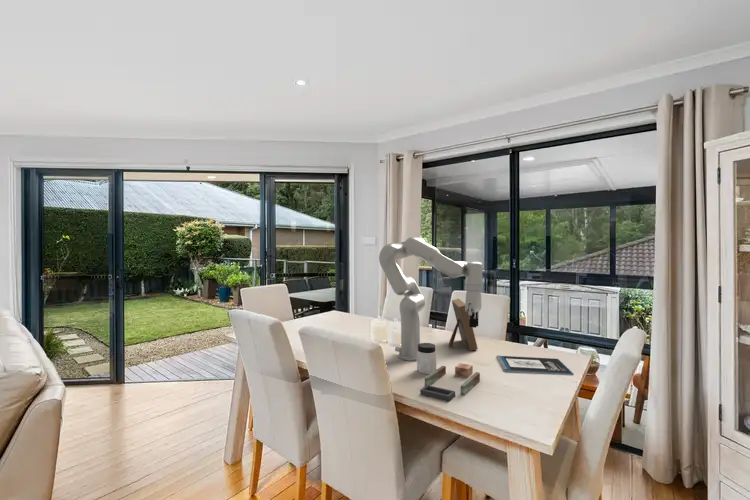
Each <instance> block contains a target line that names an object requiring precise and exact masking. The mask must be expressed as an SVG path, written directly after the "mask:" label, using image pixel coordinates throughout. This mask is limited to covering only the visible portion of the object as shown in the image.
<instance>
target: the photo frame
mask: <svg viewBox="0 0 750 500" xmlns="http://www.w3.org/2000/svg"><path fill="white" fill-rule="evenodd" d="M451 304H452V307H453V311H454V315H455V319H456V324H455V326H454V329H453V332H452V334H451V336H450V339H449V343H448V349H450V348H452V347H453V346H454V342H455V338H456V335H457V331H459V336H460V339H461V342H462V343H464V345H465V347H466V348H467V349H468V350H469V351H470V352H471V351H475V350H478V344H477V340H476V335H475V332H474V331H475V330H474V327H470V326H469V315H468V312H466V311H465V302H464V301H462V300H461V299H460V298H456V299H452V300H451Z"/></svg>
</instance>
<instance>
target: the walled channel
mask: <svg viewBox="0 0 750 500" xmlns="http://www.w3.org/2000/svg"><path fill="white" fill-rule="evenodd" d="M446 369H447V365H441V366H440V367H438V368H436V370H435V371H434V372H432V373H431V374H427V375H426V376H425V377H424V387H425V386H426V385H430V386H432V385H433V384H434V383H435V382H437V381H439V380H440V379H441V378H443V376H445V375H446V373H447V371H446ZM480 379H481V373H480V372H478V371H476V372H474V373H473V374H472V375H471V376H470V377H468V378H467V379H466V380H465V381H464V382H463V383H462V384H461V385H460V395H462V396H465V395H466V394H468V393H469V392H470V391H471V390H472V389H473V388H474V387H475V386H476V385H477V384H478V383H479V382H480V381H481V380H480Z"/></svg>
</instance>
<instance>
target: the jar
mask: <svg viewBox="0 0 750 500" xmlns="http://www.w3.org/2000/svg"><path fill="white" fill-rule="evenodd" d="M416 370H417V372H419V374H425V375H426V374H427V375H429V374H431V373H432V372H434V371H435V370H437V351H436V345H435V343H431V342H420V344H418V350H417V360H416Z"/></svg>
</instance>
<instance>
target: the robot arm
mask: <svg viewBox="0 0 750 500" xmlns="http://www.w3.org/2000/svg"><path fill="white" fill-rule="evenodd" d="M411 256H414V257H416V258H419V259H420V260H422V261H424V262H425V263H428V264H429V265H430V266H432V267H433V268H435V270H438V271H439V272H440V273H442V274H443V275H444V274H445V275H446V276H448V277H450V278H453V279H456V278H460V277H465V292H466V293H465V302H464V303H465V311H466V312H468V315H469V326H470V327H473V329H474V328H477V327H479V318H480V317H479V315H480V314H479V312H480V311H481V310H482V292H483V263H482V262H480V261H463V260H457V261H455V260H453V259H451V258H449V257H447V256H445V255H443V254H442V253H441V252H440V250H439V249H438V248H437V247H435V246H434V245H432V244H429V243H428V242H426V241H425V239H424V238H422V237H420V236H411V237H408V238H406V240H405V241H401V242H396V243H388V244H386V245H384V246H383V247H382V248H381V249H380V251H379V255H378V259H379V260H378V261H379V265H380V267H381V268H382V271H383V273H384V275H385V277H386V279H387V281H388V283H389V285H390V286H391V288H392V291H393V292H394V293H395V294H396V295H397V296H404V297H403V298H402V299H401V300H400V302H399V313H400V334H401V335H400V338H401V339H400V346H395V349H394V351H395V352H398V354H397V355H398V356H397V357H398V359H400V360H402V361H407V362H408V361H411V362H412V361H417V350H418V344H420V343H421V339H420V338H421V337H420V336H421V334H420V332H421V324H420V314H419V312H421V311H423V309H424V308H425V306H426V301H425V300H426V299H425V298H424V297H425V296H424V295H423V293H422V291H421V289H420V288H419V286H418V284H417V282H416V280H415V279H414V278H413V277H411V276H410V275H405V274H404V273H403V270H402V269H401V266H399V264H398V263H397V262H396V261H397V260H402V259H404V258H407V257H411Z"/></svg>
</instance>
